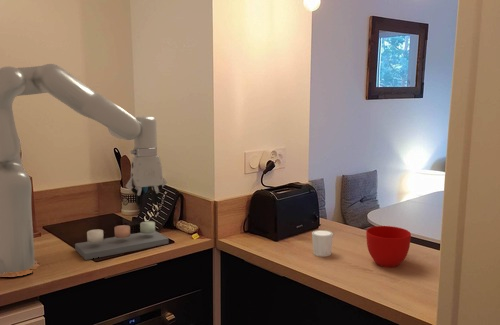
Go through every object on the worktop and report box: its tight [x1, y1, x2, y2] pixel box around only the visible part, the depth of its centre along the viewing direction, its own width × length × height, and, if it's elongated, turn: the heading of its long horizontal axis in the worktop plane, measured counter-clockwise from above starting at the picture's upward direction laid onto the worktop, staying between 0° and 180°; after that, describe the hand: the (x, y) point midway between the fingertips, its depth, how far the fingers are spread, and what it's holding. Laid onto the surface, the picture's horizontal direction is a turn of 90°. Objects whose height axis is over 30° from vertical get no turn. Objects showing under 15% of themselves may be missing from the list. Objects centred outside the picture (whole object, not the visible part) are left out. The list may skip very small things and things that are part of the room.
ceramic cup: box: [365, 225, 412, 268], centre depth 141 cm, size 13×17×10 cm
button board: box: [74, 230, 170, 261], centre depth 154 cm, size 28×12×2 cm, turn 125°
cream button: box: [86, 228, 105, 243], centre depth 148 cm, size 5×5×3 cm
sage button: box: [139, 220, 156, 234], centre depth 159 cm, size 5×5×3 cm
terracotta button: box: [114, 224, 131, 238], centre depth 154 cm, size 5×5×3 cm
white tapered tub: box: [311, 229, 334, 257], centre depth 148 cm, size 7×7×7 cm
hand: (147, 204), depth 158 cm, fingers open, 4 cm apart
